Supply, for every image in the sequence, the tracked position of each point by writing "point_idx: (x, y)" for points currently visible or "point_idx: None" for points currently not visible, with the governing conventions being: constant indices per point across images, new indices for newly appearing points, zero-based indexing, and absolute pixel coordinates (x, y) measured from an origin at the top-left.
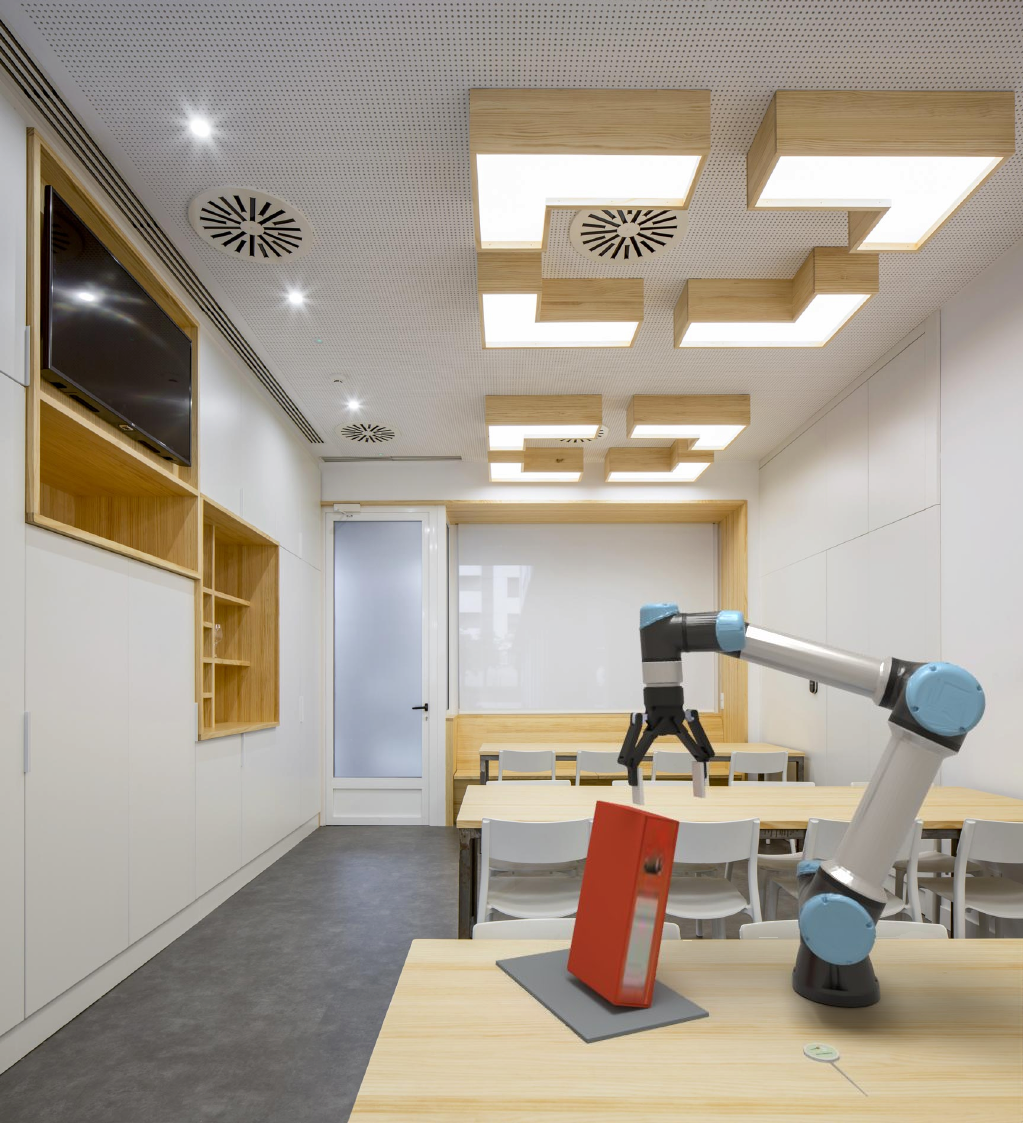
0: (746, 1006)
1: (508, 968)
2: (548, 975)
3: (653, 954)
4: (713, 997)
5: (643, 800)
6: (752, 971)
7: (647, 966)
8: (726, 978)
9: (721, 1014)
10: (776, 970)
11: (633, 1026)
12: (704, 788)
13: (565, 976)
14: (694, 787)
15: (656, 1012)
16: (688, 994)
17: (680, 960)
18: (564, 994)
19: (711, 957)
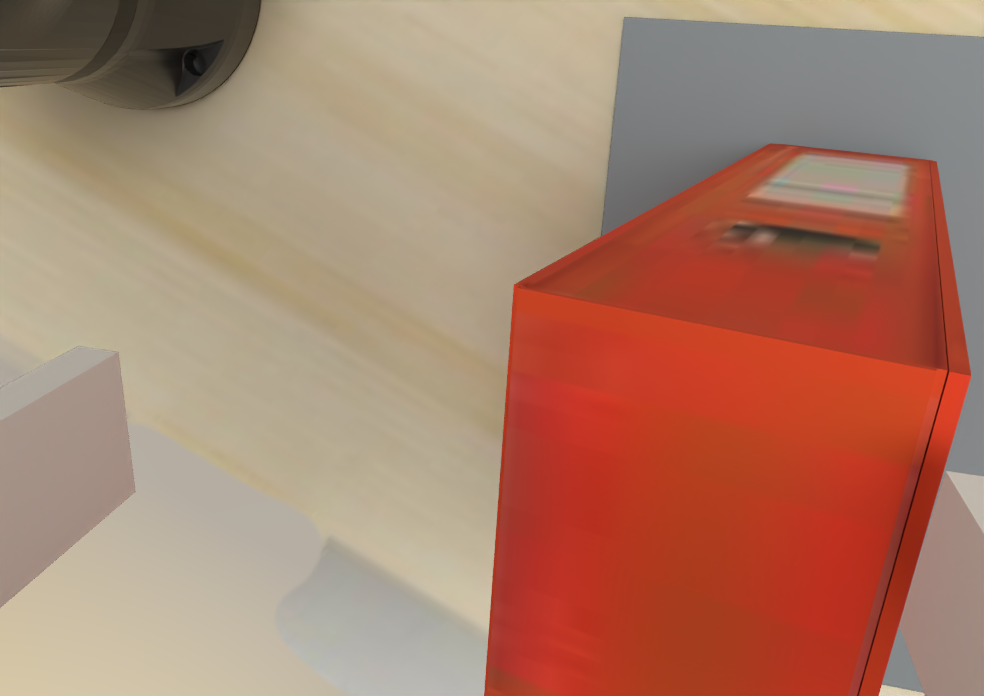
0: (465, 19)
1: None
2: None
3: (767, 163)
4: (510, 129)
5: (971, 502)
6: (271, 224)
7: (794, 161)
8: (376, 224)
9: (579, 9)
10: (201, 191)
11: (929, 52)
12: (8, 389)
13: None
14: (67, 524)
15: (777, 105)
16: (564, 189)
17: (410, 404)
18: None
19: (312, 371)
